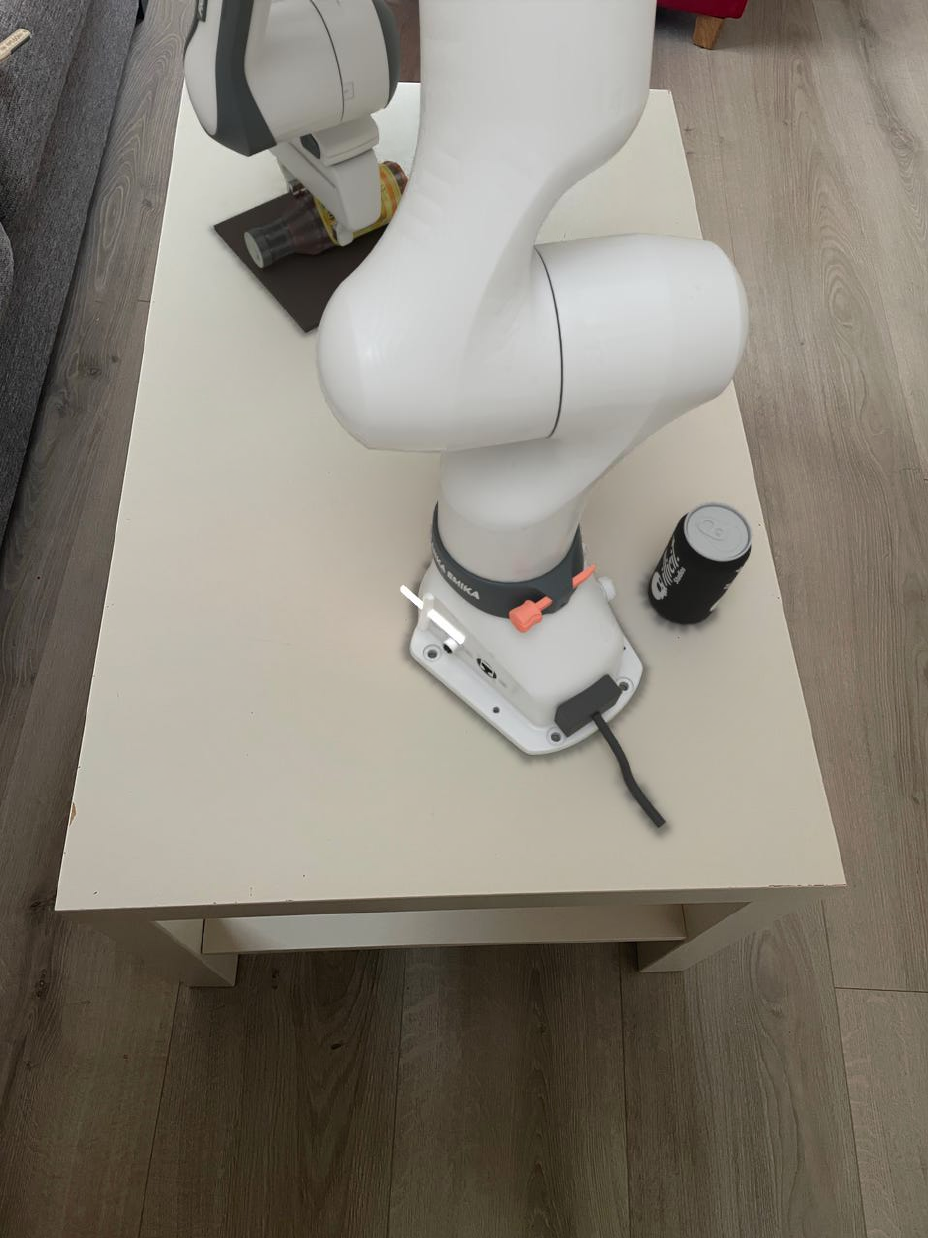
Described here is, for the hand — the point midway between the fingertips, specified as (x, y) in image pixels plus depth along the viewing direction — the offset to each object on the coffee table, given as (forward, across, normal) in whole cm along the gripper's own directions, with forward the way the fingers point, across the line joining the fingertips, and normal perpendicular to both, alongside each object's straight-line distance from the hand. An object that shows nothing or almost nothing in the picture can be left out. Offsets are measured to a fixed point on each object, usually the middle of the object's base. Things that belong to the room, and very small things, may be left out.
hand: (320, 216), depth 97 cm
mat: (+4, 0, +1) cm, 5 cm away
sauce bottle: (+1, 0, +11) cm, 11 cm away
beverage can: (+5, +59, +2) cm, 59 cm away
